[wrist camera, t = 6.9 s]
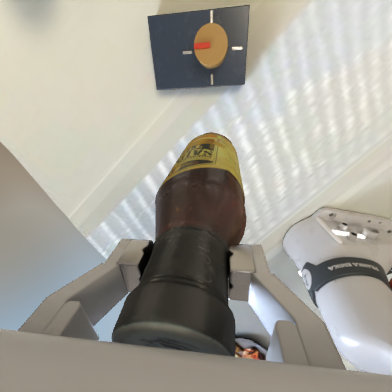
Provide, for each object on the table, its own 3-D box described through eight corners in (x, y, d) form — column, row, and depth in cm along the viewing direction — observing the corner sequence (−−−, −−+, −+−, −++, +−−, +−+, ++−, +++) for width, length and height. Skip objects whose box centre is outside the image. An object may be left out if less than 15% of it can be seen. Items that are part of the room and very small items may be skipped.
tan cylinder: (227, 29, 26) (228, 20, 23) (226, 67, 28) (227, 64, 25) (196, 32, 26) (192, 23, 23) (197, 69, 29) (194, 66, 25)
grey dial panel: (246, 13, 27) (249, 4, 24) (242, 85, 31) (244, 84, 29) (153, 23, 29) (146, 15, 26) (161, 90, 33) (156, 89, 30)
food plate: (282, 355, 72) (284, 367, 69) (235, 368, 82) (236, 379, 79) (238, 325, 66) (239, 337, 63) (194, 343, 75) (192, 354, 72)
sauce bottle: (211, 118, 21) (174, 239, 3) (247, 158, 22) (343, 377, 5) (173, 157, 23) (40, 339, 6) (207, 191, 25) (181, 407, 8)
